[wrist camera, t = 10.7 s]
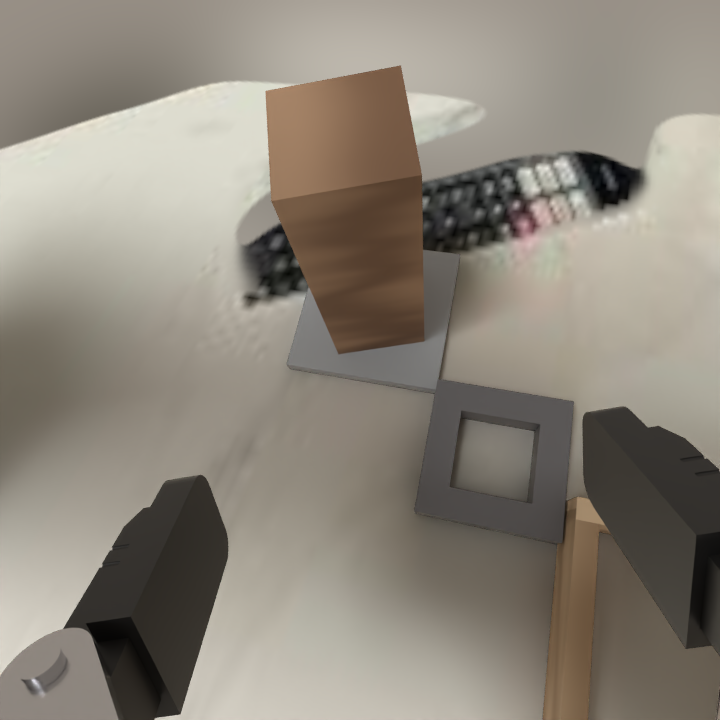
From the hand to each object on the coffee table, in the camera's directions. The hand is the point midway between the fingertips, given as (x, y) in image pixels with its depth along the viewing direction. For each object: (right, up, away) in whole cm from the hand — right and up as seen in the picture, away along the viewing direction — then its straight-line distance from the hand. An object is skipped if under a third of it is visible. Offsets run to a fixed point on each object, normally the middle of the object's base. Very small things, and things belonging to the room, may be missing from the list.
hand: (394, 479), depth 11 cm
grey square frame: (+5, -2, +11) cm, 12 cm away
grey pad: (0, +5, +14) cm, 15 cm away
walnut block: (0, +5, +13) cm, 14 cm away
